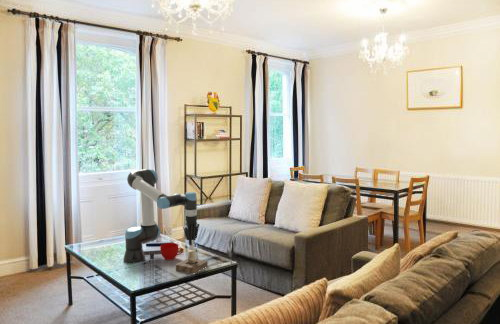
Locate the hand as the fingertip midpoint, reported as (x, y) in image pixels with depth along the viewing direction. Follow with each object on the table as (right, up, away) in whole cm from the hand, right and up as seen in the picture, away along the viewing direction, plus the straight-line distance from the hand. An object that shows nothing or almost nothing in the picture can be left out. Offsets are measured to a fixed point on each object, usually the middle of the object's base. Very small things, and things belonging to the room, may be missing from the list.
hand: (191, 249), depth 287 cm
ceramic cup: (-17, -12, +21) cm, 29 cm away
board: (0, -13, +1) cm, 13 cm away
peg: (0, -13, +1) cm, 13 cm away
